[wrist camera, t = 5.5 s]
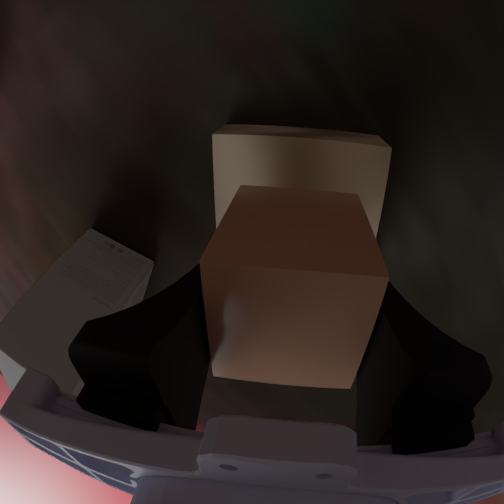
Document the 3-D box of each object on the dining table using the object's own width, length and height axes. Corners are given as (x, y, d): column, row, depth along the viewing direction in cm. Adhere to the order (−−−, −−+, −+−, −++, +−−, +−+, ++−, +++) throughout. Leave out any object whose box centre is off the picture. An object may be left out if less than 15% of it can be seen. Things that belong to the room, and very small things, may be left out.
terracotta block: (357, 194, 13) (389, 277, 8) (341, 288, 15) (350, 388, 10) (240, 184, 13) (199, 261, 8) (241, 280, 16) (213, 375, 11)
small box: (90, 225, 23) (-16, 336, 12) (156, 260, 24) (71, 398, 13) (81, 290, 28) (8, 391, 17) (136, 321, 28) (75, 436, 17)
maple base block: (376, 134, 17) (391, 148, 14) (356, 260, 22) (362, 291, 19) (227, 123, 18) (212, 134, 15) (230, 250, 23) (219, 279, 20)
